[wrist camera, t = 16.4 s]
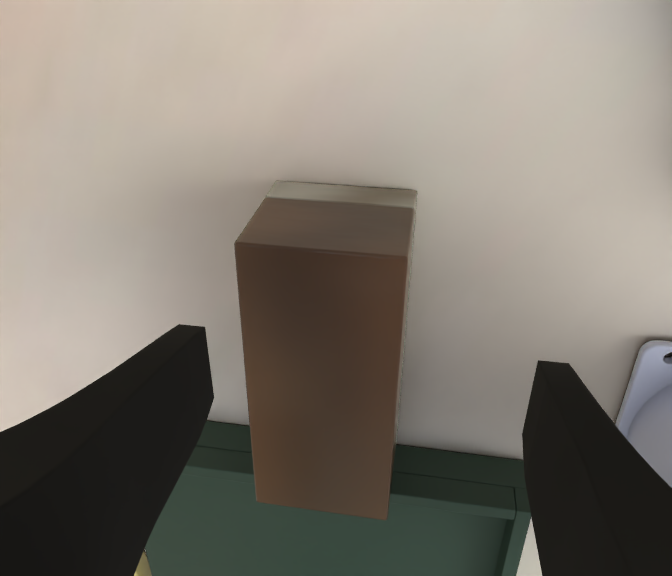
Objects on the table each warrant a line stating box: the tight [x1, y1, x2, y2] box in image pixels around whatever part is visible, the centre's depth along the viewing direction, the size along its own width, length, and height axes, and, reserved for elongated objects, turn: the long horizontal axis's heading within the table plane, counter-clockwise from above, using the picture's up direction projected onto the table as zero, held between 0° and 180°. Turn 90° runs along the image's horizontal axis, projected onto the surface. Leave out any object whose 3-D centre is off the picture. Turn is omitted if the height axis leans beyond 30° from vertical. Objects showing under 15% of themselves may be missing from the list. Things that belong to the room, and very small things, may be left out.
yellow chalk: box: [134, 551, 152, 576], centre depth 34 cm, size 1×4×1 cm
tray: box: [145, 421, 531, 576], centre depth 31 cm, size 18×16×3 cm
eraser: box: [234, 181, 417, 520], centre depth 22 cm, size 5×11×5 cm, turn 179°
